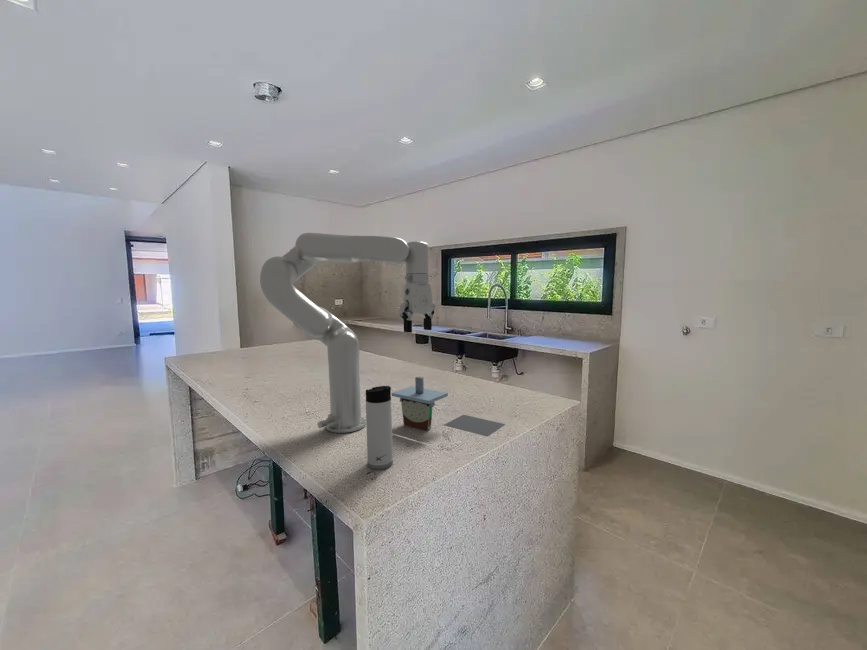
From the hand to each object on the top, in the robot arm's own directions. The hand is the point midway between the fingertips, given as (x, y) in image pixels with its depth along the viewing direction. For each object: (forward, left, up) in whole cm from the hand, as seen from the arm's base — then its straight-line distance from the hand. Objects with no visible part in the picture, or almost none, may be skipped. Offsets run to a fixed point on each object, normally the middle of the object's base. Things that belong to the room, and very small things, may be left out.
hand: (418, 331), depth 120 cm
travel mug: (-31, -13, -30) cm, 46 cm away
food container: (-5, -5, -30) cm, 31 cm away
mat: (+5, -19, -30) cm, 36 cm away
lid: (-6, -5, -20) cm, 22 cm away
